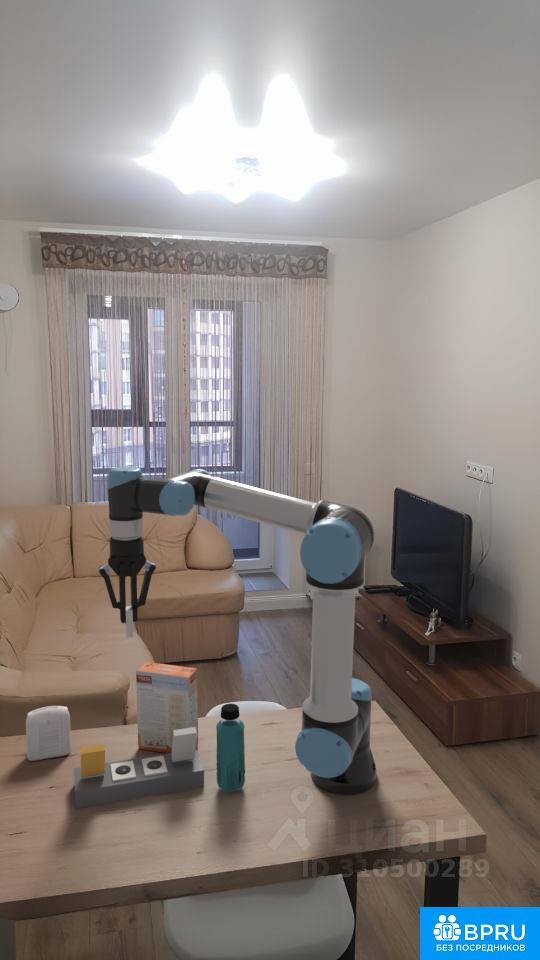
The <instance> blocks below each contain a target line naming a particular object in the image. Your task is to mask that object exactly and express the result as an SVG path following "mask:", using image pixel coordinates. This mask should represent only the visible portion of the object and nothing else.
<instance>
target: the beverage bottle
mask: <svg viewBox="0 0 540 960" xmlns="http://www.w3.org/2000/svg"><path fill="white" fill-rule="evenodd" d="M220 709H221V710H220V718H221V719H220V720H219V721H218V722H217V723H216V729H215V730H216V767H215V768H216V772H215V773H216V784H217V786H218V788H219V789H220V790H222V791H224V792H235V791H238V790H241V789H242V788H243V787H245V786H244V785H245V781H246V775H245V774H246V763H245V762H246V760H245V759H246V754H245V749H246V748H245V723H244V721H242V720H241V719H240V707H239V705H237V704H236V703H225V704H224V705H222V706H221V708H220Z"/></svg>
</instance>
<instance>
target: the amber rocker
mask: <svg viewBox="0 0 540 960" xmlns="http://www.w3.org/2000/svg"><path fill="white" fill-rule="evenodd" d="M105 745H106V744H105V743H100V744H94V745H93V744H92V745H87V746H81V747H80V748H79V749H80V767H81V776H82V778H83V777H89V776H95V775H101V774H105V763H106V747H105Z"/></svg>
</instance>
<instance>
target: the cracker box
mask: <svg viewBox="0 0 540 960" xmlns="http://www.w3.org/2000/svg"><path fill="white" fill-rule="evenodd" d="M135 674H136V675H135V677H136V678H135V679H136V680H135V681H136V682H135V683H136V687H135V688H136V712H137V713H136V717H137V719H136V721H137V723H136V724H137V748H138V749H139V750H147V751H152V752H156V753H157V752H158V753H162V754H167V753H172V742H173V730H178V729H185V728H191V727H196V731H197V736H196V746H195V749H196V750H197V748H198V746H199V714H198V713H199V711H198V706H199V705H198V668H196V667H189V666H181V665H174V664H167V663H161V662H160V663H159V662H151V661H146V662H145V663H142V665H141V666H140V667H139V668H137V670H135Z"/></svg>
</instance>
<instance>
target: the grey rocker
mask: <svg viewBox="0 0 540 960" xmlns="http://www.w3.org/2000/svg"><path fill="white" fill-rule="evenodd" d="M196 736H197V731H196V727H191V728H185V729H178V730H173V742H172V763H175V762H181V761H188V760H193V759H194V757H195V746H196Z"/></svg>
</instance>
